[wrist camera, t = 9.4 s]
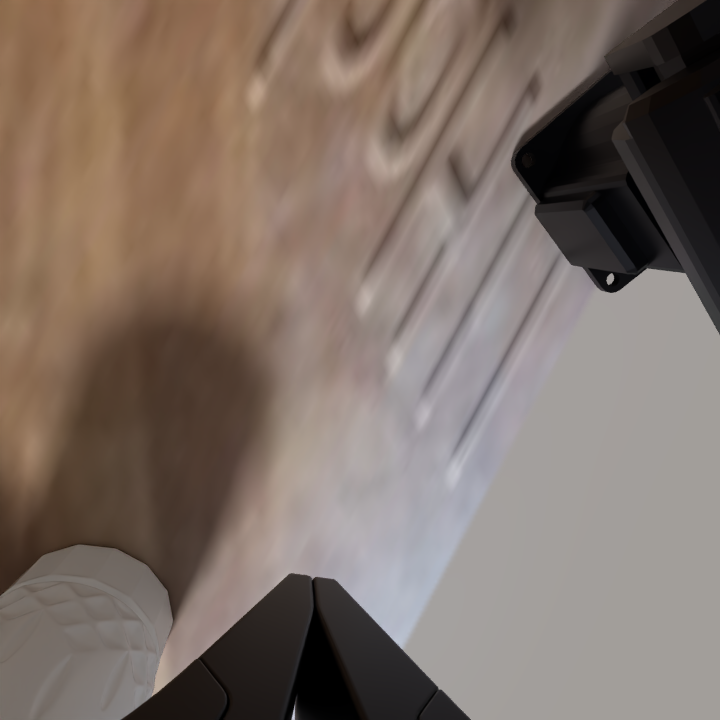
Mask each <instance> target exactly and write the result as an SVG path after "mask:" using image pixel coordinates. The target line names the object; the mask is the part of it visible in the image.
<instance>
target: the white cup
mask: <svg viewBox="0 0 720 720" xmlns="http://www.w3.org/2000/svg"><path fill="white" fill-rule="evenodd" d="M172 624H173V618H172V612H171V607H170V601H169V596H168V591H167V590H166V588H165V587H164V586H163V585H162V583H161V582H160V581H159V579H158V578H157V577H156V576H155V574H154V573H153V572H152V571H151V569H150V568H149V567H148V566H147V565H146V564H144V563H142V562H140V561H139V560H137V559H135V558H133V557H131V556H129V555H127V554H125V553H123V552H122V551H120V550H118V549H116V548H108V547H99V546H90V545H81V544H78V545H75V546H71V547H68V548H64V549H61V550H58V551H54V552H51V553H47V554H44V555H43V556H42V557H40V558H39V559H38V560H37V561H36V562H35V563H34V564H33V565H32V566H31V567H30V568H29V569H28V570H26V571H25V572H24V573H23V574H22V575H21V576H20V577H19V578H18V579H17V580H16V581H15V582H14V583H13V584H12V585H11V586H10V587H9V588H8V589H7V590H6V591H5V592H4V593H3V594H2V595H1V596H0V720H121V719H122V718H124V717H125V716H126V715H128V714H129V713H131V712H132V711H133V710H135V709H136V708H137V707H139V706H140V705H141V704H143V703H144V702H145V701H147V700H148V699H149V698H151V696H152V693H153V690H154V688H155V676H156V673H157V670H158V666H159V662H160V658H161V655H162V653H163V650H164V647H165V644H166V641H167V638H168V636H169V633H170V630H171V627H172Z"/></svg>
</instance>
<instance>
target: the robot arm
mask: <svg viewBox="0 0 720 720" xmlns="http://www.w3.org/2000/svg"><path fill="white" fill-rule="evenodd" d="M604 57H605V59H606V61H607V63H608V65H609V66H610V68H611V70H610V71H608V72H607V73H606V74H605V75H604V76H603V77H602V78H600V79H599V80H598V81H597V82H596V83H595V84H593V85H592V86H591V87H590V88H589V89H588V90H586V91H585V92H584V93H583V94H582V95H581V96H579V97H578V98H577V99H576V100H575V101H574V102H572V103H571V104H570V105H569V106H568V107H567V108H565V109H564V110H563V111H562V112H561V113H560V114H559V115H557V116H556V117H555V118H554V119H553V120H552V121H550V122H549V123H548V124H547V125H546V126H545V127H543V128H542V129H541V130H540V131H539V132H538V133H536V134H535V135H534V136H533V137H532V138H531V139H529V140H528V141H527V142H526V143H525V144H524V145H522V146H521V147H520V148H519V149H518V150H517V151H516V152H515V153H514V154H513V157H512V160H511V166H512V169H513V171H514V172H515V174H516V175H517V177H518V178H519V179H520V181H521V182H522V184H523V185H524V186H525V188H526V189H527V191H528V192H529V193H530V195H531V196H532V197H533V199H534V200H535V202H536V203H537V205H536V206H535V216H536V217H537V218H538V220H539V221H540V222H541V224H542V225H543V227H544V228H545V229H546V231H547V232H548V234H549V235H550V236H551V238H552V239H553V240H554V242H555V243H556V245H557V246H558V247H559V249H560V250H561V251H562V253H563V254H564V256H565V257H566V258H567V260H568V261H569V262H570V264H571V265H573V266H580V267H583V268H584V270H585V271H586V272H587V274H588V275H589V277H590V278H591V279H592V281H593V282H594V284H595V285H596V286H597V287H598V288H599V289H600V290H601V291H605V292H610V293H613V292H617V291H619V290H620V289H622V288H623V287H624V286H625V285H627V284H628V283H629V282H630V281H632V280H633V279H634V278H635V277H637V276H638V275H639V274H640V273H642V272H643V271H644V270H646V269H647V268H649V269H657V270H665V271H673V272H681V273H686V275H687V277H688V278H689V280H690V282H691V284H692V286H693V287H694V289H695V291H696V293H697V294H698V296H699V298H700V300H701V302H702V304H703V305H704V307H705V309H706V311H707V313H708V314H709V316H710V318H711V320H712V321H713V323H714V325H715V326H716V329H717V331H718V332H719V334H720V0H678V1H676V2H675V3H674V4H672V5H671V6H670V7H668V8H667V9H666V10H664V11H663V12H662V13H660V14H659V15H658V16H656V17H655V18H654V19H653V20H651V21H650V22H649V23H647V24H646V25H645V26H643V27H642V28H641V29H639V30H638V31H637V32H635V33H634V34H633V35H631V36H630V37H629V38H627V39H626V40H625V41H623V42H622V43H621V44H619V45H618V46H617V47H615V48H614V49H613V50H612V51H610V52H609V53H608V54H606V55H605V56H604ZM524 154H526V155H529V156H530V157H531V160H532V163H531V165H530V167H529V168H525V167H524V166H523V164H522V157H523V156H524ZM611 273H613V275H614V281H613V282H612V284H610V285H608V284H607V281H606V280H607V277H608V275H609V274H611ZM294 705H295V720H471V719H470V718H469V717H468V716H467V715H466V714H465V713H464V712H463V711H462V710H461V709H460V708H459V707H458V706H457V705H456V704H455V703H454V702H453V701H452V700H451V699H450V698H449V697H448V696H447V695H446V694H445V693H444V692H443V691H442V690H439V689H438V687H437V686H436V685H435V683H434V682H433V681H432V680H431V679H430V678H429V677H428V676H427V675H426V674H425V673H424V672H423V671H422V670H421V669H420V668H419V667H418V666H417V665H416V664H415V663H414V662H413V660H411V658H410V657H409V656H408V655H407V654H406V653H405V652H404V651H403V650H402V649H401V648H400V647H399V646H398V645H397V644H396V643H395V642H394V641H393V640H392V638H391V637H390V636H389V635H388V634H387V633H386V632H385V631H384V630H383V629H382V628H381V627H380V626H379V625H378V624H377V623H376V622H375V621H374V620H373V619H372V618H371V617H370V615H369V614H368V613H367V612H366V611H365V610H364V609H363V608H362V607H361V606H360V605H359V604H358V603H357V602H356V601H355V600H354V599H353V598H352V597H351V596H350V595H349V594H348V592H347V591H346V590H345V589H344V588H343V587H342V586H341V585H340V584H339V583H338V582H337V581H336V580H334V579H328V578H321V577H315V578H314V579H313V580H312V578H311V577H310V576H307V575H300V574H294V573H291V574H289V575H288V576H287V577H285V578H284V579H283V580H282V581H281V582H280V583H279V584H278V585H277V586H276V587H275V588H274V589H272V590H271V591H270V592H269V593H268V594H267V595H266V596H265V597H264V598H263V599H262V600H261V601H259V602H258V603H257V604H256V605H255V606H254V607H253V608H252V609H251V610H250V611H249V612H247V613H246V614H245V615H244V616H243V617H242V618H241V619H240V620H239V621H238V622H237V623H236V624H234V625H233V626H232V627H231V628H230V629H229V630H228V631H227V632H226V633H225V634H224V635H223V636H221V637H220V638H219V639H218V640H217V641H216V642H215V643H214V644H213V645H212V646H211V647H209V648H208V649H207V650H206V651H205V652H204V653H203V654H202V655H201V656H200V657H199V658H198V659H196V660H194V661H193V662H192V663H191V664H190V665H189V666H188V667H187V668H186V669H184V670H183V671H182V672H181V673H180V674H179V675H178V676H176V677H175V678H174V679H173V680H172V681H171V682H169V683H168V684H167V685H166V686H165V687H164V688H162V689H161V690H160V691H159V692H157V693H156V694H155V695H153V696H152V697H151V698H149V699H148V700H147V701H145V702H144V703H143V704H141V705H140V706H139V707H137V708H136V709H135V710H133V711H132V712H131V713H129V714H128V715H126V716H125V717H124V718H122V719H121V720H291V719H292V715H293V710H294Z"/></svg>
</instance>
